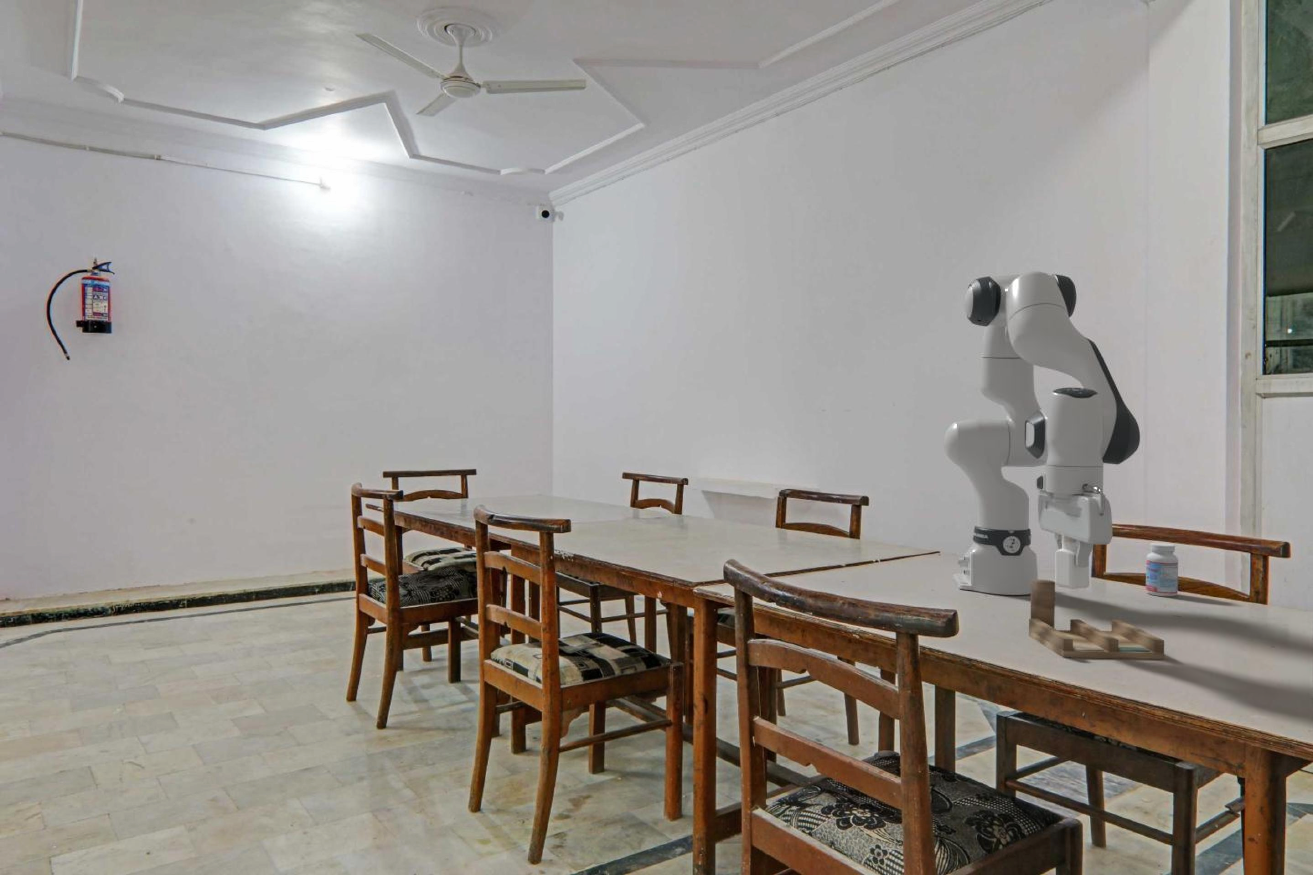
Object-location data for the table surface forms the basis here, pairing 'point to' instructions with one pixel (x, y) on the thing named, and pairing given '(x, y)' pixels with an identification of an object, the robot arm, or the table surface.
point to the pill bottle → (1162, 570)
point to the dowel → (1043, 601)
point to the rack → (1098, 640)
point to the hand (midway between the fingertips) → (1072, 563)
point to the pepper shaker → (1069, 567)
